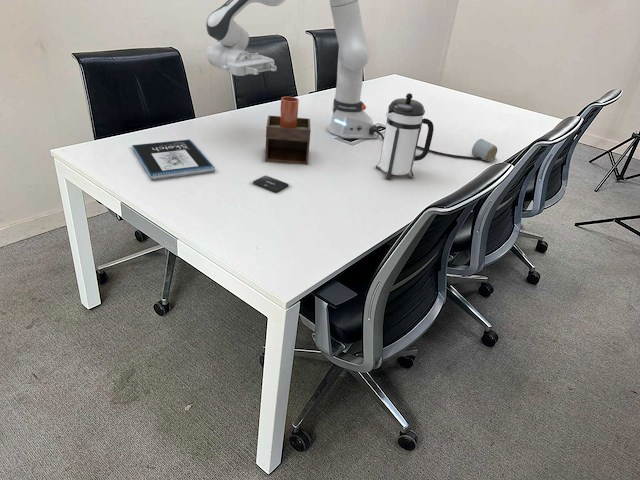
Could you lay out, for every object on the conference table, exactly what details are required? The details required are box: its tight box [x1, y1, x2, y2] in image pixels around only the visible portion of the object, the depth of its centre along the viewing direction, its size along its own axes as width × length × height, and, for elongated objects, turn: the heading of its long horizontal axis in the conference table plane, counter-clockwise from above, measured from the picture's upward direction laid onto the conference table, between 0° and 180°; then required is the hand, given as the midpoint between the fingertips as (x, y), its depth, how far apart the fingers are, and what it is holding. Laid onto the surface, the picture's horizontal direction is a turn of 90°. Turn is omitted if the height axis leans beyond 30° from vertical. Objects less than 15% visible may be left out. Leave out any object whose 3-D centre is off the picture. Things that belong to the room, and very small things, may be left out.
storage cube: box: [264, 114, 312, 165], centre depth 176 cm, size 16×13×14 cm
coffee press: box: [375, 92, 435, 181], centre depth 168 cm, size 17×16×30 cm
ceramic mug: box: [471, 138, 498, 162], centre depth 196 cm, size 11×8×8 cm
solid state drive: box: [252, 174, 289, 193], centre depth 157 cm, size 7×10×1 cm
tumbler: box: [279, 96, 300, 128], centre depth 171 cm, size 6×6×12 cm
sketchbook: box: [131, 139, 216, 181], centre depth 166 cm, size 22×30×2 cm
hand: (266, 70), depth 170 cm, fingers open, 8 cm apart
